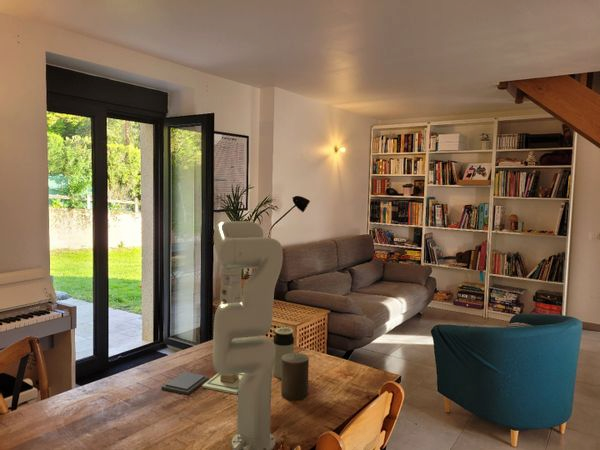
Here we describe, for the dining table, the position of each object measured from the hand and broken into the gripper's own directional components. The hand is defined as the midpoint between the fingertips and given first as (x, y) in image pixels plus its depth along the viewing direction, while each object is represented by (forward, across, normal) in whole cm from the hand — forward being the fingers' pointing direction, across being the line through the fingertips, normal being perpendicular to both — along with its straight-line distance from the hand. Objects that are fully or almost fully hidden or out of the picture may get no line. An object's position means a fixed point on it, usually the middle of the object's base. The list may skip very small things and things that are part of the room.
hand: (230, 324), depth 172 cm
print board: (+22, 0, 0) cm, 22 cm away
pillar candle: (+23, 0, -26) cm, 34 cm away
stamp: (+22, 0, 0) cm, 22 cm away
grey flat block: (+22, -8, +14) cm, 28 cm away
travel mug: (+23, +14, -16) cm, 31 cm away
